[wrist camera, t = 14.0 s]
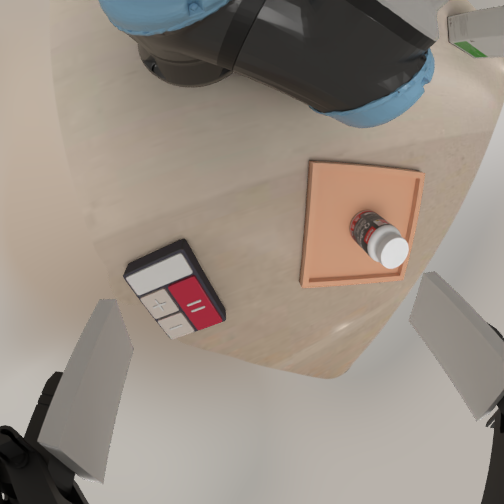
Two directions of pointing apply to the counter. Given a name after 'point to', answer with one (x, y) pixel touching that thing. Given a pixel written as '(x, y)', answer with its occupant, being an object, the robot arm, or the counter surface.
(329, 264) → the tray
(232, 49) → the robot arm
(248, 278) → the counter surface
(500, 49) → the skincare box
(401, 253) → the pill bottle
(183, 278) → the calculator
